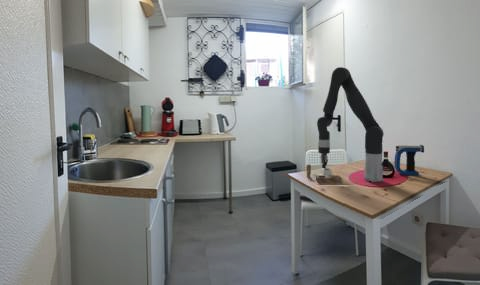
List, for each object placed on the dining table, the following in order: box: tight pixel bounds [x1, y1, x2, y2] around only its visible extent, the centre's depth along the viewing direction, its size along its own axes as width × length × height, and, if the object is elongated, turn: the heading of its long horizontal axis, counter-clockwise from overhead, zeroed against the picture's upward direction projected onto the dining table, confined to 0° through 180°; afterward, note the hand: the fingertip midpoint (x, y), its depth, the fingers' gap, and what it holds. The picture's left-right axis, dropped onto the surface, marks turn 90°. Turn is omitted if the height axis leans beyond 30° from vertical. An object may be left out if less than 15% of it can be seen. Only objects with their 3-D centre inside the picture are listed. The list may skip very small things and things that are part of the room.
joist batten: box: [315, 174, 343, 184], centre depth 161 cm, size 14×5×3 cm, turn 85°
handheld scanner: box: [394, 144, 425, 176], centre depth 175 cm, size 5×16×20 cm, turn 78°
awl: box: [306, 164, 312, 178], centre depth 172 cm, size 3×3×9 cm
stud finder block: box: [320, 167, 333, 175], centre depth 175 cm, size 5×7×4 cm
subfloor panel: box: [311, 173, 334, 181], centre depth 169 cm, size 14×21×1 cm, turn 175°
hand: (323, 170), depth 183 cm, fingers closed
